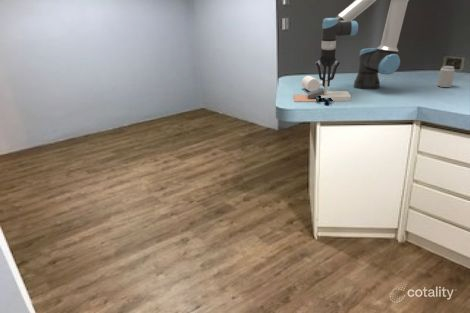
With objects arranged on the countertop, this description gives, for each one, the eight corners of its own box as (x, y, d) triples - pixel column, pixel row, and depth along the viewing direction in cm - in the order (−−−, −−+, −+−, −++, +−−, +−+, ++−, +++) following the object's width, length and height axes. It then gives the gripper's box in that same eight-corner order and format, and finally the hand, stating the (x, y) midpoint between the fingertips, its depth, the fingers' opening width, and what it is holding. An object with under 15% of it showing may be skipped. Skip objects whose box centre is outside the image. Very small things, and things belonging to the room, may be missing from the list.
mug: (307, 92, 222) (307, 79, 218) (301, 88, 231) (301, 76, 227) (325, 90, 224) (326, 77, 220) (319, 87, 233) (319, 74, 229)
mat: (318, 95, 215) (318, 94, 215) (320, 101, 203) (320, 101, 202) (293, 95, 217) (293, 94, 217) (294, 101, 204) (294, 101, 204)
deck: (347, 95, 212) (347, 91, 211) (350, 101, 201) (350, 96, 200) (318, 95, 214) (318, 91, 213) (320, 101, 203) (320, 96, 202)
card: (323, 91, 210) (322, 88, 209) (324, 93, 204) (323, 90, 204) (308, 96, 212) (307, 93, 211) (308, 99, 207) (307, 95, 206)
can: (445, 88, 217) (449, 68, 212) (434, 86, 224) (438, 66, 219) (454, 87, 220) (458, 66, 215) (443, 84, 226) (447, 64, 221)
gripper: (316, 50, 195) (314, 93, 204) (341, 49, 193) (338, 93, 203) (315, 48, 201) (313, 90, 211) (339, 47, 200) (336, 90, 210)
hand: (325, 92), depth 207 cm, fingers closed
